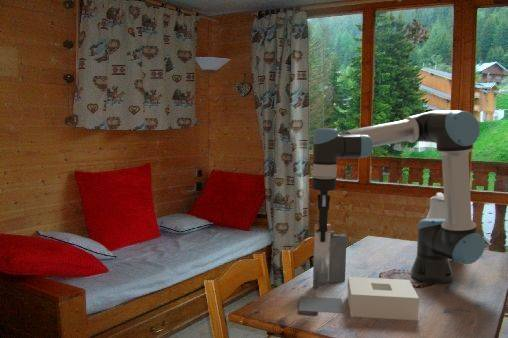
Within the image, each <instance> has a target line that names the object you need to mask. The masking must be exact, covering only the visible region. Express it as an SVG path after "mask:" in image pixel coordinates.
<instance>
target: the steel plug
mask: <svg viewBox="0 0 508 338" xmlns="http://www.w3.org/2000/svg"><path fill="white" fill-rule="evenodd" d="M331 226H332V224H330V223H329V222H327V229H328V230H327V252H319V251H318V232H317V230H319V222H316V223H314V240H313V263H314V276H313V275H312V276H313V277H312V280H313V279H314V280H315V281H317V282H327V281H329V263H330V232H331V229H332V228H331Z"/></svg>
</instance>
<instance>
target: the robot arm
mask: <svg viewBox="0 0 508 338" xmlns="http://www.w3.org/2000/svg"><path fill="white" fill-rule="evenodd" d="M480 130H481V128H480V123H479V121H478V119H477V117H476V116H475V115H474V114H473V113H471V112H469V111H467V110H459V109H455V110H454V109H453V110H452V109H450V110H432V111H427V112H423V113H420V114H419V113H418V114H415V115H411V116H406V117H404V119H403V120H398V121H393V122H387V123H381V124H375V125H370V126H364V127H359V128H353V129H348V130H343V131H339V130H338V128H330V127H329V128H328V127H326V128H324V127H323V128H322V127H321V128H320V127H319V128H315V130H314V133H313V136H312V137H313V140H312V166H310V169H311V170H312V176H313V177H312V179H311V180H312V181H311V188H312V189H313V190H314V191H319V194H317V197H316V198H317V209H318V220H317V221H318V222H317V223H319V230H317V232H318V251H319V252H327V230H328V229H327V223H328V214H329V210H330V202H331V195H330V194H328V192H331V191H335V190H336V188H337V179H336V177H337V172H338V171H337V168H338V163H337V162H338V159H362V158H369V157H370V156H371V155H372V153H373V148H377V147H381V146H387V145H392V144H398V143H403V142H408V143H411V144H412V143H418V142H422V143H423V142H424V143H425V142H426V143H427V142H428V143H434V144H436V145H435V147H436V151H437V152H438V153H439V154H440V155H441V167H442V183H443V185H442V186H443V187H442V188H443V195H444V204H445V219H442V218H428V219H426V218H423V219H422V218H421V219H420V220H419V221H418V225H417V240H416V241H417V243H416V245H417V246H416V257H415V260H414V262H413V264H412V266H411V270H410V272H411V273H410V276H411V277H412V278H413V279H415V280H417V281H420V282H424V283H430V284H447V283H451V282H452V281H453V277H454V273H453V270H452V267H451V263H450V262H451V261H449V259H452V261H454V262H455V263H458V264H463V265H471V264H475V263H476V262H478V260H480V258H481V256H482V255H483V253H484V251H485V248H486V242H485V239H484V237H483V236H482V235H481V234H480V233H478V231H477V229H478V228H477V223H476V222H474V221H473V220H472V206H471V205H472V202H471V183H470V182H471V180H470V179H471V177H470V163H469V161H470V160H469V153H470V152H471V151H473V148H474V144H475V143H476V142H477V140H478V138H479V137H480V133H481V132H480Z"/></svg>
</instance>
